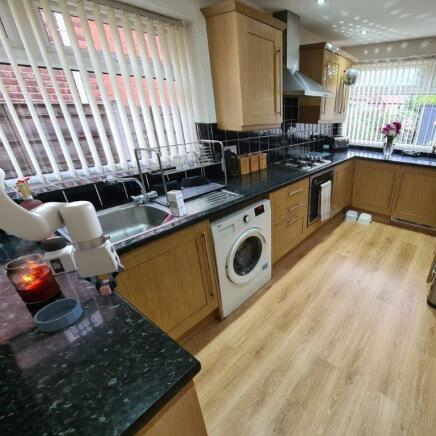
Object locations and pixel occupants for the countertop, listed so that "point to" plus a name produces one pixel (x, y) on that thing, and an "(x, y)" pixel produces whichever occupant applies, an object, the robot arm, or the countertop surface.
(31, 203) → the liquor
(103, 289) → the eraser
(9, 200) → the robot arm
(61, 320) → the bowl
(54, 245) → the container
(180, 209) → the syrup box
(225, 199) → the countertop surface
